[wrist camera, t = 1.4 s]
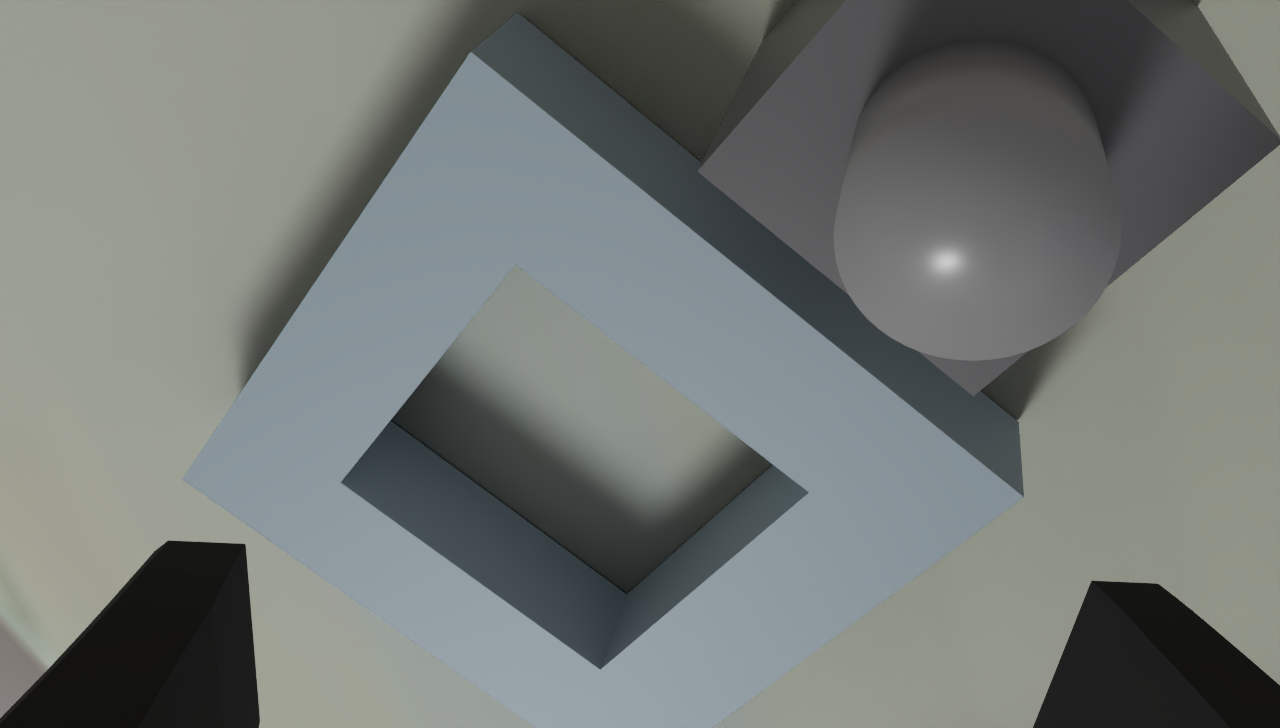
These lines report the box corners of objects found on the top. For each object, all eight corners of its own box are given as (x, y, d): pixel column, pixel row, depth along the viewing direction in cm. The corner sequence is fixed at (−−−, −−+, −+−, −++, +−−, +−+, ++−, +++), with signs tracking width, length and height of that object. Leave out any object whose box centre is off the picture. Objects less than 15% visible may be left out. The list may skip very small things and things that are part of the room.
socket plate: (517, 11, 18) (471, 51, 16) (1018, 421, 19) (1023, 497, 17) (239, 417, 23) (181, 479, 21) (648, 712, 24) (626, 791, 23)
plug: (968, -205, 15) (970, -102, 9) (1197, 5, 15) (1338, 228, 10) (762, 39, 17) (657, 251, 11) (971, 216, 18) (974, 503, 12)
